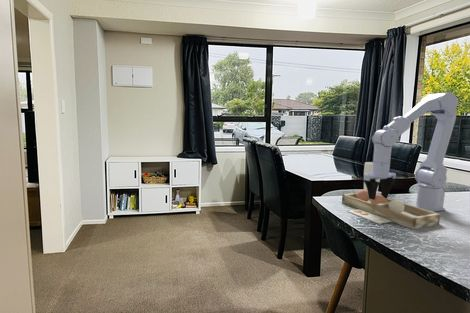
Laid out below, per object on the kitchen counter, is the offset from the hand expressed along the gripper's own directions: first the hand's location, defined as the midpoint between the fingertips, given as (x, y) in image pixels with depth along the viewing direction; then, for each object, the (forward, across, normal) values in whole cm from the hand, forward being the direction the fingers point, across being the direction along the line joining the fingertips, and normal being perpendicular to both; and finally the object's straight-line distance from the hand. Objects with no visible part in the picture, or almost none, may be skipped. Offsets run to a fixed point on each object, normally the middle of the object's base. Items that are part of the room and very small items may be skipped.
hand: (378, 198), depth 121 cm
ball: (+1, 0, -7) cm, 7 cm away
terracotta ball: (+1, 0, 0) cm, 1 cm away
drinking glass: (+5, -12, -14) cm, 19 cm away
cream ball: (+1, 0, +8) cm, 8 cm away
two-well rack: (+4, 0, +4) cm, 6 cm away
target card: (+4, +10, +5) cm, 12 cm away
